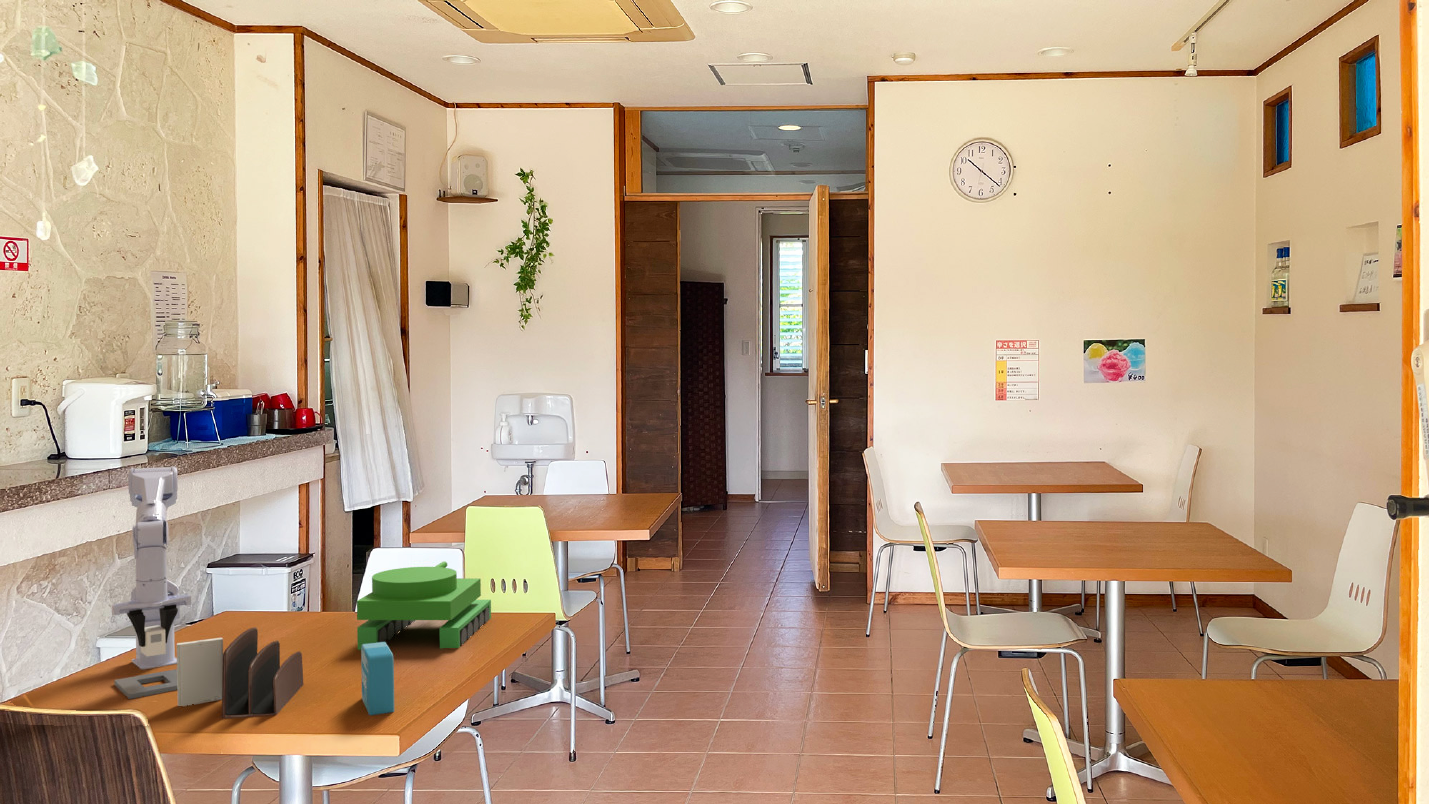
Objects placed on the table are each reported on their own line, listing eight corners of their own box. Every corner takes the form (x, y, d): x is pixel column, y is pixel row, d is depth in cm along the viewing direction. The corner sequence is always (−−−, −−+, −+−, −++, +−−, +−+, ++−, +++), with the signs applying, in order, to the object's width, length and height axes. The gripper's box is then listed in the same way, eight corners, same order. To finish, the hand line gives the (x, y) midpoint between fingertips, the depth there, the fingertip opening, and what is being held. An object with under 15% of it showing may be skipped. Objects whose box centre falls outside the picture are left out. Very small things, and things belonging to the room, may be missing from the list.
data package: (361, 703, 209) (360, 642, 209) (385, 699, 211) (384, 640, 211) (369, 721, 198) (368, 657, 198) (394, 717, 200) (393, 654, 200)
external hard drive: (224, 701, 211) (223, 638, 210) (178, 708, 206) (177, 645, 206) (223, 698, 212) (221, 637, 212) (177, 706, 208) (176, 643, 207)
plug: (138, 649, 223) (137, 625, 223) (156, 646, 225) (156, 623, 225) (147, 656, 218) (146, 632, 217) (165, 653, 220) (165, 629, 220)
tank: (498, 619, 279) (497, 557, 279) (460, 655, 244) (459, 585, 244) (406, 618, 280) (405, 557, 280) (356, 654, 245) (355, 584, 245)
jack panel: (114, 684, 222) (114, 678, 222) (235, 663, 238) (235, 657, 238) (129, 699, 212) (129, 692, 212) (254, 675, 228) (254, 669, 228)
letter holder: (221, 722, 199) (219, 647, 198) (253, 690, 218) (252, 622, 218) (276, 719, 200) (275, 645, 199) (304, 688, 219) (303, 620, 219)
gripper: (116, 586, 212) (118, 654, 213) (194, 577, 222) (196, 641, 222) (108, 581, 218) (110, 647, 218) (185, 572, 227) (186, 635, 228)
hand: (153, 644), depth 221 cm, fingers closed on plug, 3 cm apart
